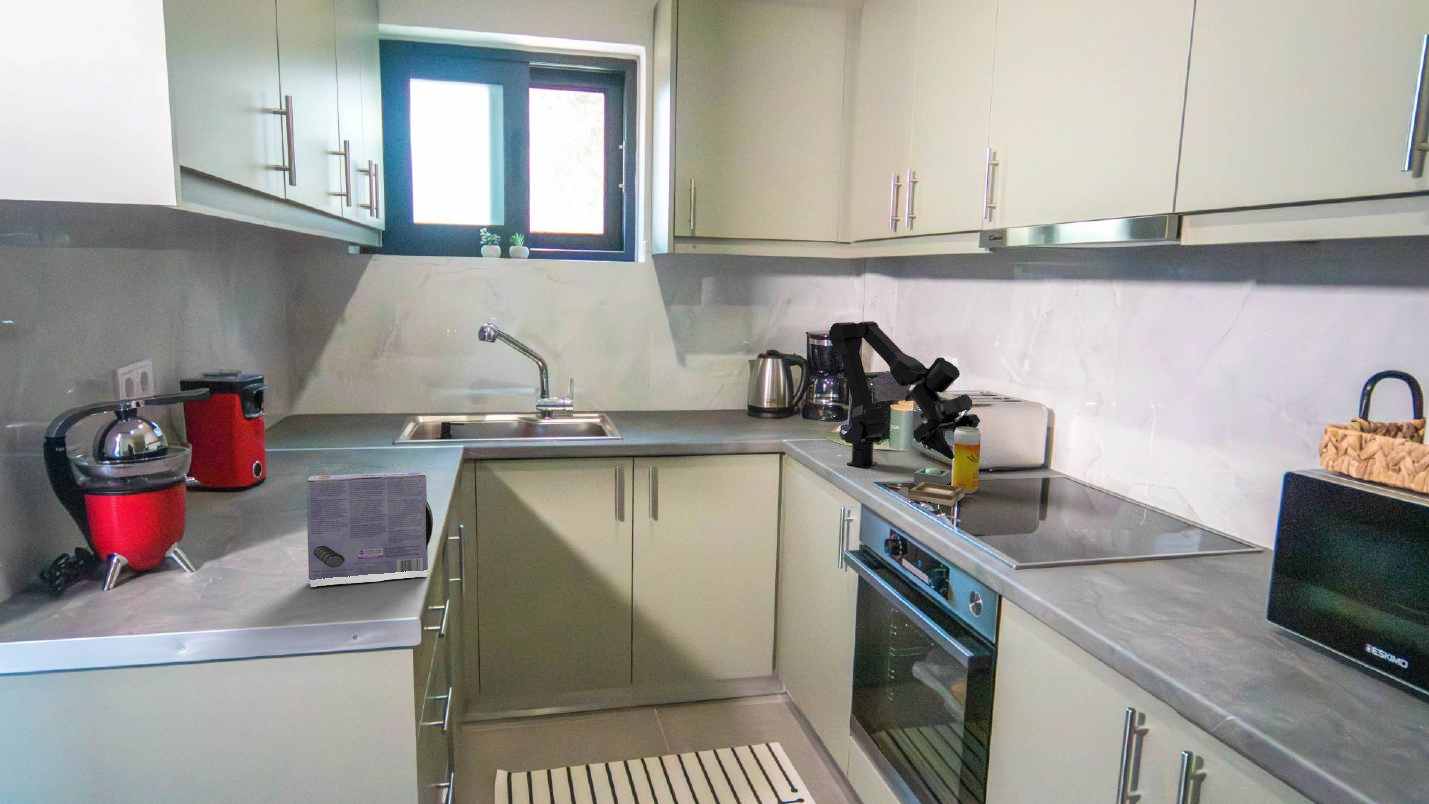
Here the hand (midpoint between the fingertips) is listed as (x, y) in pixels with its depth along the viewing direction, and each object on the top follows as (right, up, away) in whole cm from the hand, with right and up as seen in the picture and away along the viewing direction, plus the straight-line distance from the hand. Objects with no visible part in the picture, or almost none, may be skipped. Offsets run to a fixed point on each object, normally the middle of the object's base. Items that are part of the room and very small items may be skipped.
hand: (965, 456), depth 204 cm
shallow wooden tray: (-8, -9, -6) cm, 14 cm away
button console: (-6, -7, +8) cm, 12 cm away
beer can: (0, -8, +1) cm, 9 cm away
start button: (-6, -6, +7) cm, 11 cm away
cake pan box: (-116, -17, -61) cm, 132 cm away
